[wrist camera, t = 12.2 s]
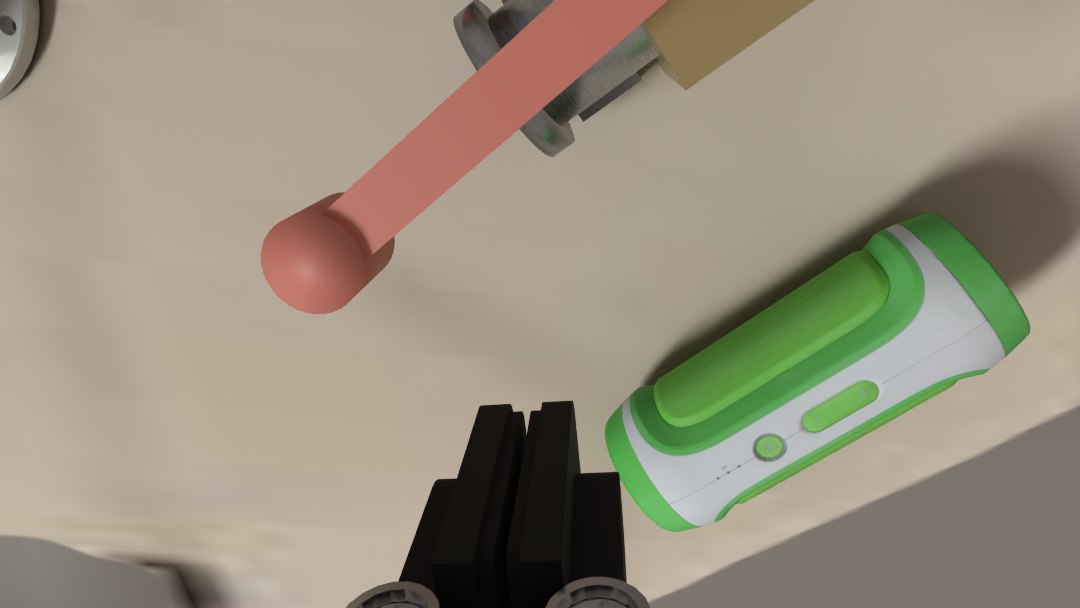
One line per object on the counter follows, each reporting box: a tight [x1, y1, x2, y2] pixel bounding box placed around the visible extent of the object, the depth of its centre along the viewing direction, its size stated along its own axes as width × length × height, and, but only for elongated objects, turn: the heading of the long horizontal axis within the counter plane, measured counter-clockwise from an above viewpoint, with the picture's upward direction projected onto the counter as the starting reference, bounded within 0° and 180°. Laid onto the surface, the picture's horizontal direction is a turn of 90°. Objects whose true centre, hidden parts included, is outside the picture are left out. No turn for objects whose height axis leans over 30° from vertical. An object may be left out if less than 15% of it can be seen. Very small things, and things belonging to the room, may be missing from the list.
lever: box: [261, 0, 668, 314], centre depth 19 cm, size 4×18×4 cm, turn 130°
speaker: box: [605, 212, 1030, 532], centre depth 32 cm, size 18×7×8 cm, turn 130°
